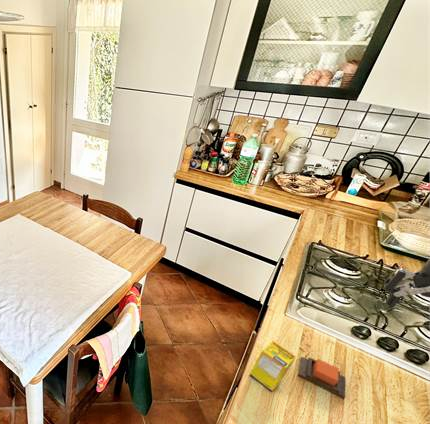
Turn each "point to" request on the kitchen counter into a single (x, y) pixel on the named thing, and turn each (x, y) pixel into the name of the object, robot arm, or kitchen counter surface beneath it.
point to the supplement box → (272, 365)
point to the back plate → (306, 374)
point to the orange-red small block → (325, 372)
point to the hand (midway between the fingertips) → (414, 314)
